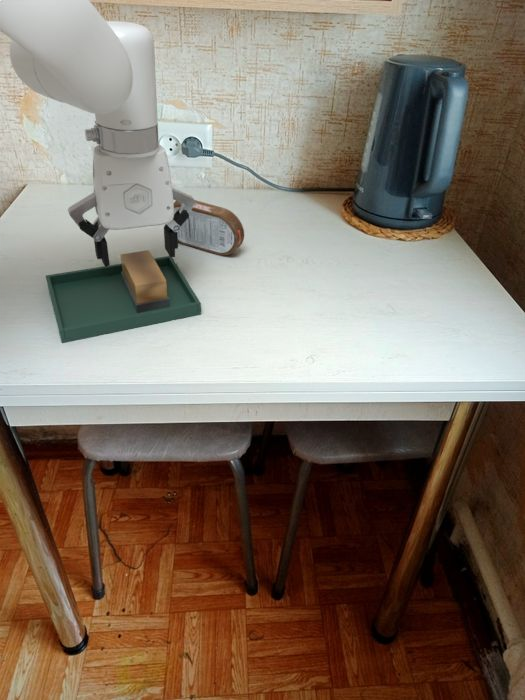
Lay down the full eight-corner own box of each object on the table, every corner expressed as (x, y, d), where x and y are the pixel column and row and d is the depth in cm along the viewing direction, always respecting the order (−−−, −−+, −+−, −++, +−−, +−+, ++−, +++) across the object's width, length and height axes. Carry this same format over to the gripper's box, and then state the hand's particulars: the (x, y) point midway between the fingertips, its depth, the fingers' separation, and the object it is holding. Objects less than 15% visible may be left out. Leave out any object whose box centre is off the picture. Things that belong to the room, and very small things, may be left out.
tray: (61, 343, 70) (59, 331, 69) (48, 286, 80) (45, 275, 79) (201, 314, 77) (200, 303, 76) (171, 266, 88) (171, 255, 86)
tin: (244, 255, 92) (246, 211, 87) (236, 262, 90) (237, 218, 85) (173, 234, 97) (171, 191, 91) (164, 241, 94) (161, 197, 89)
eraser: (137, 313, 75) (133, 286, 72) (121, 279, 82) (118, 253, 79) (169, 307, 77) (168, 280, 74) (152, 274, 84) (150, 248, 81)
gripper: (61, 150, 59) (82, 278, 69) (202, 142, 65) (202, 261, 76) (52, 131, 64) (73, 253, 75) (184, 126, 71) (186, 239, 81)
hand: (138, 257), depth 75 cm, fingers open, 9 cm apart
